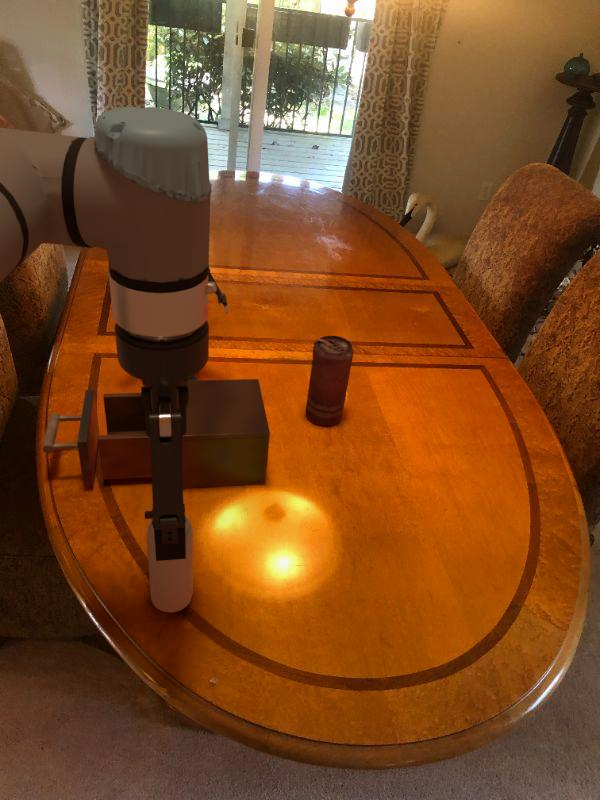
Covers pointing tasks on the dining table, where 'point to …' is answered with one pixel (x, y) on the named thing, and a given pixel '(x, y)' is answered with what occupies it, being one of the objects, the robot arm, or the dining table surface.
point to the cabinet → (225, 434)
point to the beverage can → (171, 575)
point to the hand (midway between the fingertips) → (170, 503)
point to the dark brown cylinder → (329, 380)
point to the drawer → (108, 437)
